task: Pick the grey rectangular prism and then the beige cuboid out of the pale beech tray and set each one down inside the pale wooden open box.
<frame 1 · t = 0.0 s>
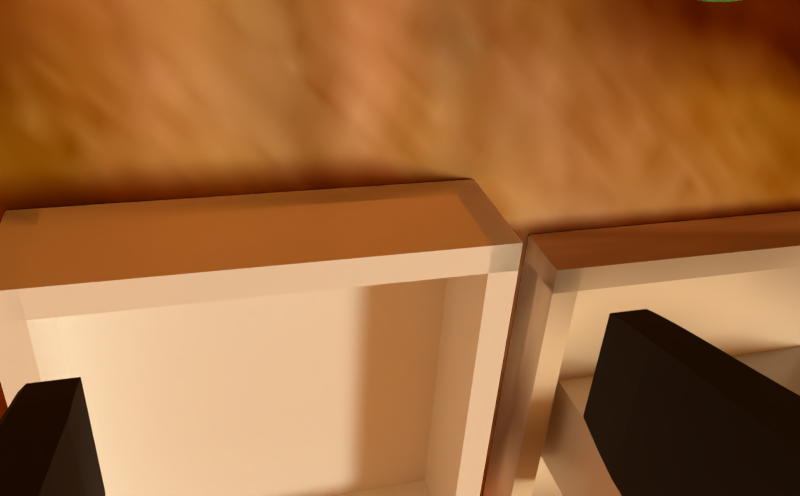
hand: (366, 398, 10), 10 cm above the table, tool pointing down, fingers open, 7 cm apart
beech tray: (660, 381, 28), on the table
grey rectangular prism: (750, 388, 28), point 1 cm above the table, touching beech tray
beige cuboid: (596, 412, 26), point 1 cm above the table, touching beech tray
pale wooden open box: (265, 369, 22), on the table
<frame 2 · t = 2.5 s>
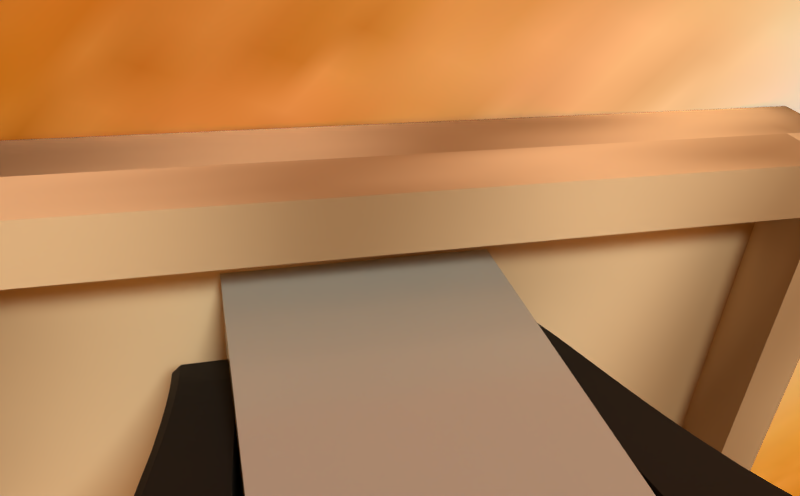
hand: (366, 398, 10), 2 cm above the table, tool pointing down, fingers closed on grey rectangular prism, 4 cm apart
beech tray: (338, 467, 13), on the table
grey rectangular prism: (355, 365, 11), point 1 cm above the table, touching beech tray, gripper
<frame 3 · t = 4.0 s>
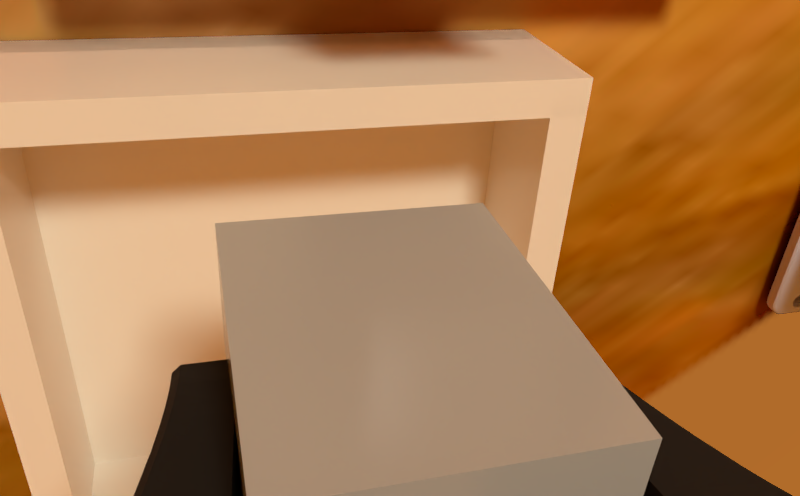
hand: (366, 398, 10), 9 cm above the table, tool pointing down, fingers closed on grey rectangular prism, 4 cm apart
grey rectangular prism: (351, 322, 11), point 8 cm above the table, touching gripper
pale wooden open box: (278, 266, 19), on the table
when the fingers open (3 cm above the table, at t = 5.6 s): grey rectangular prism drops 1 cm, resting on pale wooden open box.
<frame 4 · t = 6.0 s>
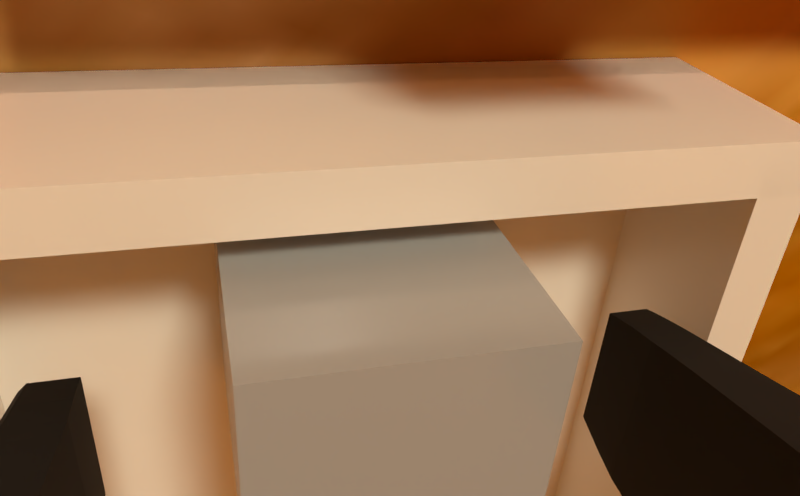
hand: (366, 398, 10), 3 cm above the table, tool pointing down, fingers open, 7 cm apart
grey rectangular prism: (331, 268, 12), point 1 cm above the table, touching pale wooden open box
pale wooden open box: (321, 374, 14), on the table
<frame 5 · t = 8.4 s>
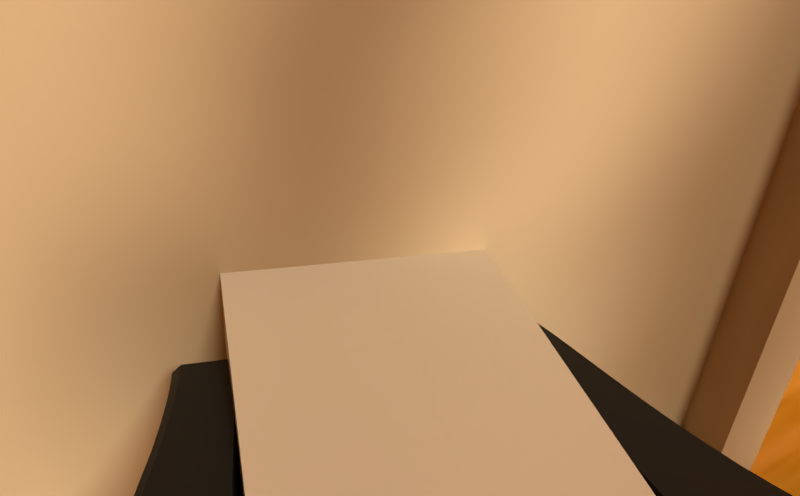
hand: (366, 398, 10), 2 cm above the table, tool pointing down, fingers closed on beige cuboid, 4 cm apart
beech tray: (346, 132, 10), on the table
beige cuboid: (355, 365, 11), point 1 cm above the table, touching beech tray, gripper
when the fingers open (3 cm above the table, at t = 11.3 s): beige cuboid drops 1 cm, resting on pale wooden open box.
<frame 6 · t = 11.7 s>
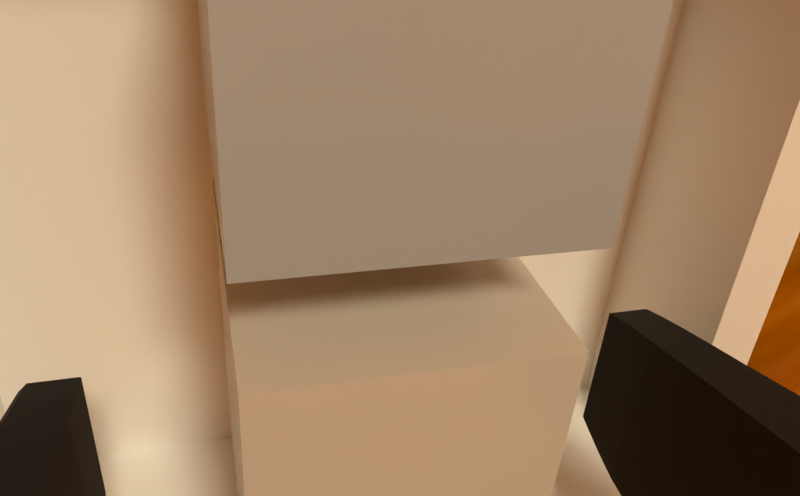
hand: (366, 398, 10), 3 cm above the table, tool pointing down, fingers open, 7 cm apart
beige cuboid: (334, 275, 12), point 1 cm above the table, touching pale wooden open box
pale wooden open box: (326, 142, 12), on the table
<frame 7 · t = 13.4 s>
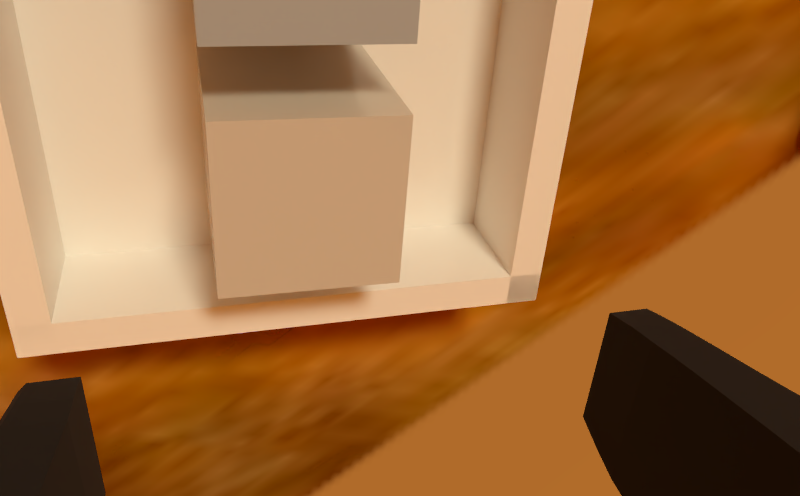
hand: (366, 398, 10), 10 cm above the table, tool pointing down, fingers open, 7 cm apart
beige cuboid: (280, 119, 17), point 1 cm above the table, touching pale wooden open box
pale wooden open box: (274, 25, 17), on the table
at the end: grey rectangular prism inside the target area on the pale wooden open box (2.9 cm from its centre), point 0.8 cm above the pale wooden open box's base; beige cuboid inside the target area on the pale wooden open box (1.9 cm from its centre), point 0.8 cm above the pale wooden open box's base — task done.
